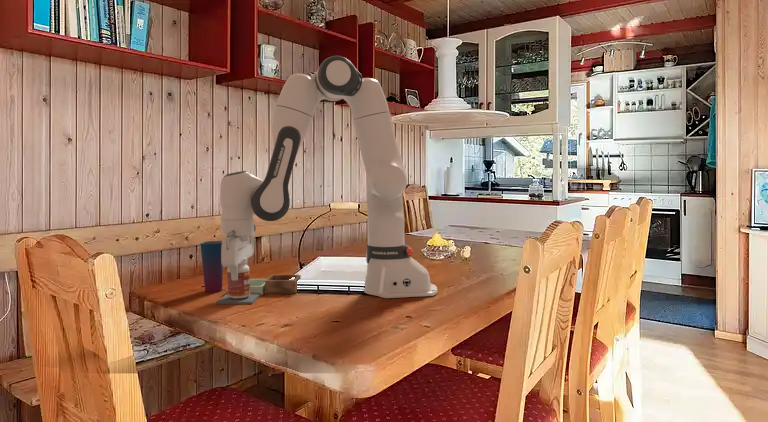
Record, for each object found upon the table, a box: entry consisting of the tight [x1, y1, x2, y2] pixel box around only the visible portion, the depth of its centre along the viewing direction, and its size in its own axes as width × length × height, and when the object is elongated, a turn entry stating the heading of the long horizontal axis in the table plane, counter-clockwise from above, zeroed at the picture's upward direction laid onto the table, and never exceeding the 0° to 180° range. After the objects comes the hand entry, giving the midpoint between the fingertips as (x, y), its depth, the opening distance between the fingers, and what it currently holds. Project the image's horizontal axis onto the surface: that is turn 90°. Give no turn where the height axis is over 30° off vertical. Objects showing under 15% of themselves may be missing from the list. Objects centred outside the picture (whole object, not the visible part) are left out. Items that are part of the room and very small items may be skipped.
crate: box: [264, 274, 302, 295], centre depth 163 cm, size 9×9×4 cm
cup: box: [199, 240, 224, 294], centre depth 163 cm, size 7×7×15 cm
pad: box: [215, 292, 262, 305], centre depth 153 cm, size 10×10×1 cm
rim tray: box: [226, 278, 268, 296], centre depth 163 cm, size 10×10×2 cm
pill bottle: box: [226, 258, 251, 299], centre depth 152 cm, size 6×6×11 cm
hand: (239, 277), depth 152 cm, fingers closed on pill bottle, 6 cm apart
